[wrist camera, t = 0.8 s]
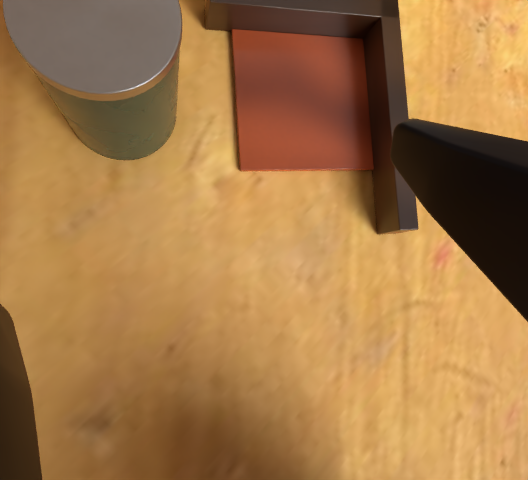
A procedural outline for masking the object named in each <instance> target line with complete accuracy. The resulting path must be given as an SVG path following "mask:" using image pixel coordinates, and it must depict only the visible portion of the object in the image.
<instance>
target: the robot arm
mask: <svg viewBox="0 0 528 480" xmlns="http://www.w3.org/2000/svg"><path fill="white" fill-rule="evenodd" d="M390 159H391V162H392V164H393V165H394V167H395V168H396V169H397V171H398V172H399V173H400V175H401V176H402V178H403V179H404V180H405V182H406V183H407V184H408V186H409V187H410V189H411V190H412V191H413V193H414V194H415V195H416V197H417V198H418V200H419V201H420V202H421V204H422V205H423V206H424V207H425V209H426V210H427V211H428V212H429V214H430V215H431V216H432V217H433V218H434V219H435V220H436V221H437V222H438V224H439V225H440V226H441V227H442V228H443V229H444V230H445V231H446V232H447V233H448V235H449V236H450V237H451V238H452V239H453V240H454V241H455V242H456V243H457V245H458V246H459V247H460V248H461V249H462V250H463V251H464V252H465V253H466V254H467V256H468V257H469V258H470V259H471V260H472V261H473V262H474V263H475V264H476V265H477V267H478V268H479V269H480V270H481V271H482V272H483V273H484V274H485V275H486V276H487V278H488V279H489V280H490V281H491V282H492V283H493V284H494V285H495V286H496V287H497V289H498V290H499V291H500V292H501V293H502V294H503V295H504V296H505V297H506V298H507V300H508V301H509V302H510V303H511V304H512V305H513V306H514V307H515V308H516V309H517V311H518V312H519V313H520V314H521V315H522V316H523V317H524V318H525V319H526V320H527V322H528V142H527V141H522V140H518V139H513V138H508V137H503V136H498V135H493V134H488V133H483V132H478V131H473V130H468V129H463V128H458V127H453V126H449V125H444V124H439V123H434V122H429V121H424V120H419V119H409V120H406V121H403V122H401V123H399V124H397V125H396V127H395V128H394V132H393V138H392V143H391V149H390ZM0 480H42V473H41V465H40V457H39V448H38V440H37V432H36V424H35V415H34V407H33V400H32V393H31V388H30V384H29V380H28V376H27V372H26V369H25V365H24V361H23V357H22V354H21V350H20V346H19V342H18V338H17V335H16V331H15V327H14V323H13V320H12V318H11V316H10V314H9V313H8V311H7V310H6V309H5V308H4V307H3V306H2V305H1V304H0Z"/></svg>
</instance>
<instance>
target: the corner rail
mask: <svg viewBox="0 0 528 480" xmlns="http://www.w3.org/2000/svg"><path fill="white" fill-rule="evenodd" d="M204 12H205V28H206V29H207V30H221V31H231V35H232V51H233V68H234V84H235V100H236V117H237V133H238V149H239V165H240V171H324V170H372V174H373V186H374V198H375V210H376V222H377V234H395V233H401V232H407V231H412V230H418V219H417V208H416V197H415V194H414V193H413V191H412V190H411V189H410V187H409V186H408V184H407V183H406V182H405V180H404V179H403V178H402V176H401V175H400V173H399V172H398V171H397V169H396V168H395V167H394V165H393V164H392V162H391V159H390V149H391V143H392V138H393V132H394V128H395V127H396V125H397V124H399V123H401V122H403V121H406V120H409V119H408V108H407V97H406V86H405V74H404V63H403V52H402V41H401V30H400V19H399V8H398V0H206V2H205V9H204Z"/></svg>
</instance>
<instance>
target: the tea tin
mask: <svg viewBox="0 0 528 480" xmlns="http://www.w3.org/2000/svg"><path fill="white" fill-rule="evenodd" d="M3 12H4V19H5V23H6V27H7V30H8V32H9V35H10V37H11V39H12V41H13V43H14V44H15V46H16V48H17V50H18V51H19V53H20V54H21V55H22V57H23V58H24V60H25V61H26V62H27V64H28V65H29V66H30V67H31V68H32V69H33V71H34V72H35V74H36V75H37V77H38V78H39V80H40V81H41V83H42V84H43V86H44V87H45V89H46V90H47V92H48V93H49V95H50V96H51V98H52V99H53V101H54V102H55V104H56V105H57V107H58V108H59V110H60V111H61V113H62V114H63V116H64V117H65V119H66V120H67V122H68V123H69V125H70V126H71V128H72V129H73V131H74V132H75V134H76V135H77V136H78V138H79V139H80V140H81V141H82V142H83V143H84V144H85V145H86V146H87V147H88V148H90V149H91V150H93V151H94V152H96V153H98V154H100V155H102V156H105V157H108V158H112V159H117V160H134V159H139V158H142V157H145V156H148V155H150V154H152V153H153V152H155V151H157V150H158V149H159V148H160V147H162V146H163V145H164V143H165V142H166V141H167V140H168V138H169V137H170V135H171V133H172V131H173V129H174V126H175V121H176V111H177V91H178V71H179V51H180V45H181V39H182V14H181V8H180V4H179V0H3Z"/></svg>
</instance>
